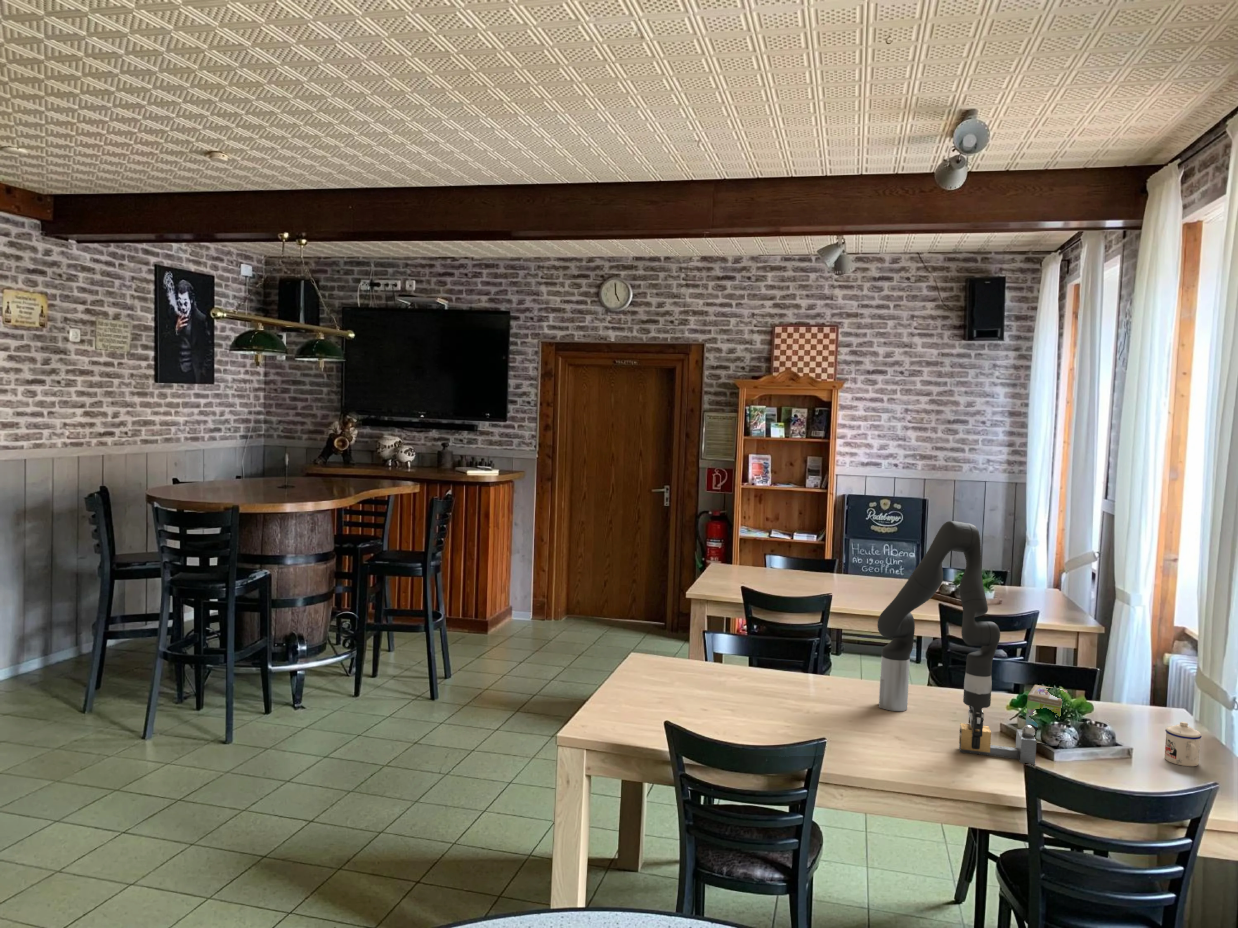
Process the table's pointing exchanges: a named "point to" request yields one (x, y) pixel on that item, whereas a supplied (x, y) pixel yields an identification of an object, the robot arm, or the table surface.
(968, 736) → the tan wooden block
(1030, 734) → the coupler rail
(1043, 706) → the tea box
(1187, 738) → the teacup with lid
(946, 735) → the table surface
